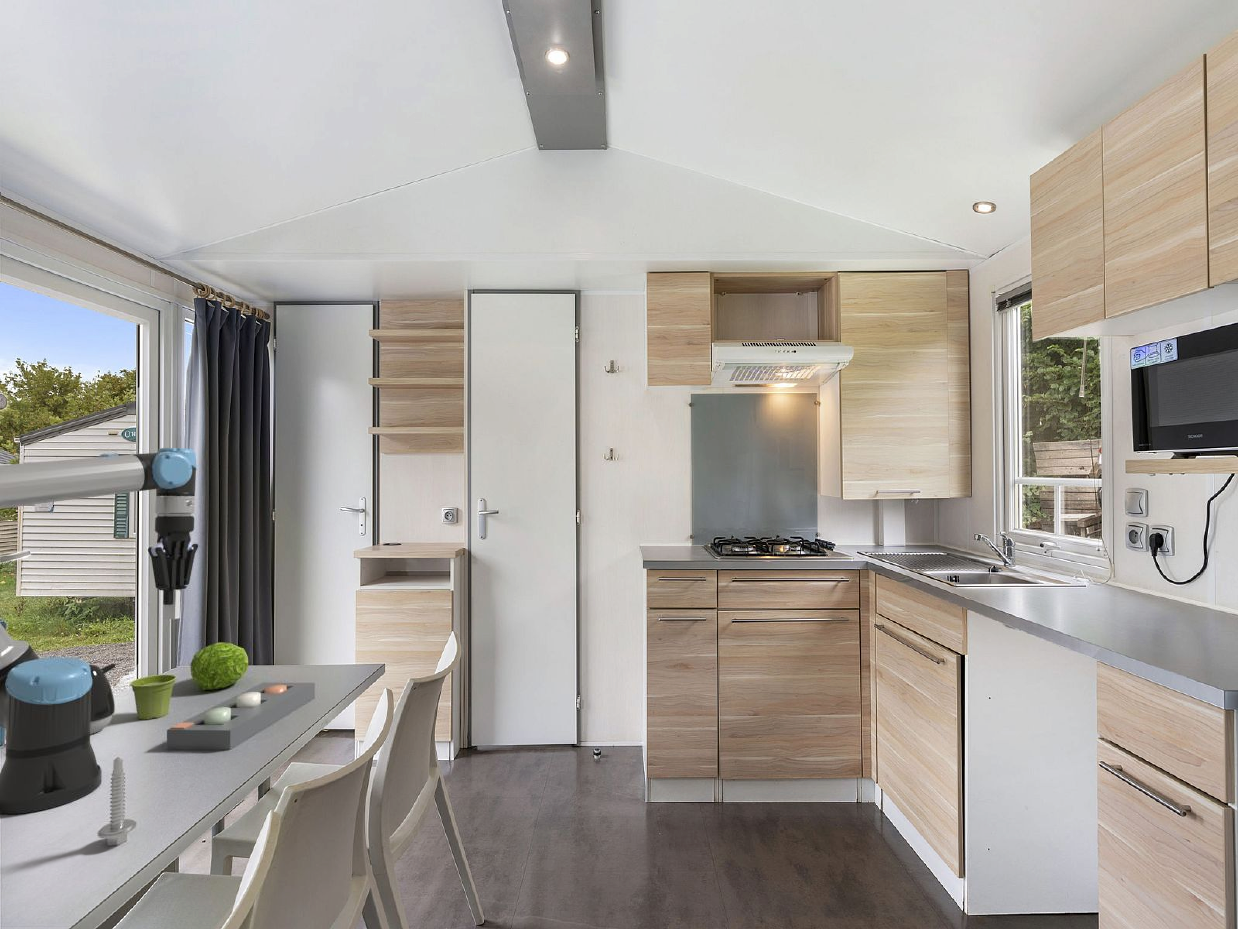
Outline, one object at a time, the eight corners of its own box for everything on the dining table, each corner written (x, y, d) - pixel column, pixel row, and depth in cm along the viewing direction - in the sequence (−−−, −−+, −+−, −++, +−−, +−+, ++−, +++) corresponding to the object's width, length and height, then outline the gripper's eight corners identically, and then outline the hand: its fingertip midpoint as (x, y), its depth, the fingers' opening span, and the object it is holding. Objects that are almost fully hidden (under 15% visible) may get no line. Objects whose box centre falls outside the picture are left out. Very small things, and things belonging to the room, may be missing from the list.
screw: (109, 835, 105) (142, 832, 106) (89, 851, 100) (125, 848, 101) (110, 752, 106) (143, 750, 106) (91, 764, 101) (126, 762, 101)
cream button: (252, 714, 154) (252, 698, 154) (231, 714, 154) (231, 698, 155) (265, 707, 159) (265, 692, 159) (245, 707, 159) (245, 692, 160)
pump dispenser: (123, 729, 152) (124, 662, 153) (66, 744, 144) (68, 673, 144) (105, 721, 158) (106, 656, 158) (50, 735, 149) (51, 666, 150)
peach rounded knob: (279, 705, 165) (279, 690, 165) (260, 705, 165) (260, 690, 166) (290, 699, 170) (290, 684, 170) (271, 699, 170) (271, 684, 171)
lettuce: (265, 650, 202) (223, 629, 199) (251, 659, 181) (203, 635, 179) (238, 690, 198) (195, 668, 196) (220, 704, 178) (171, 680, 175)
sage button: (220, 732, 143) (221, 715, 143) (198, 732, 144) (198, 714, 144) (235, 724, 148) (235, 707, 148) (214, 723, 148) (214, 707, 149)
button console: (230, 749, 139) (230, 729, 139) (166, 749, 140) (166, 728, 140) (314, 698, 173) (314, 681, 173) (263, 698, 174) (263, 681, 174)
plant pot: (185, 709, 166) (186, 674, 166) (155, 723, 156) (156, 686, 157) (151, 709, 167) (151, 674, 167) (119, 722, 157) (119, 685, 157)
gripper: (169, 515, 146) (165, 624, 145) (210, 514, 159) (207, 613, 158) (137, 515, 147) (133, 623, 145) (180, 514, 160) (177, 613, 158)
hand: (171, 618), depth 152 cm, fingers closed
